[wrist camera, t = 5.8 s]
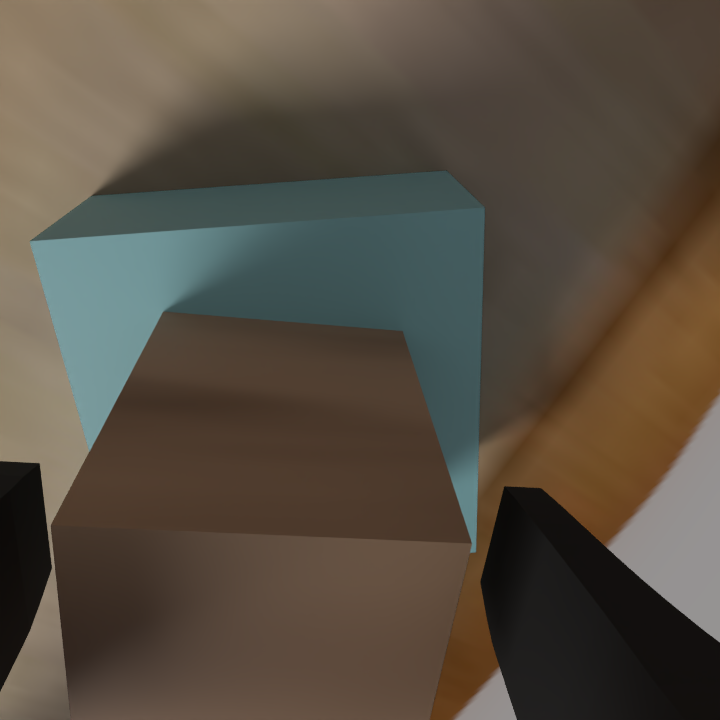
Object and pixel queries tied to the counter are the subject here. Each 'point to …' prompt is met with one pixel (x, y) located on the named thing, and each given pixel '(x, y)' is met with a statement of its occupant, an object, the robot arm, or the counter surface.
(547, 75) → the counter surface
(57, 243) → the teal base box
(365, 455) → the walnut block
